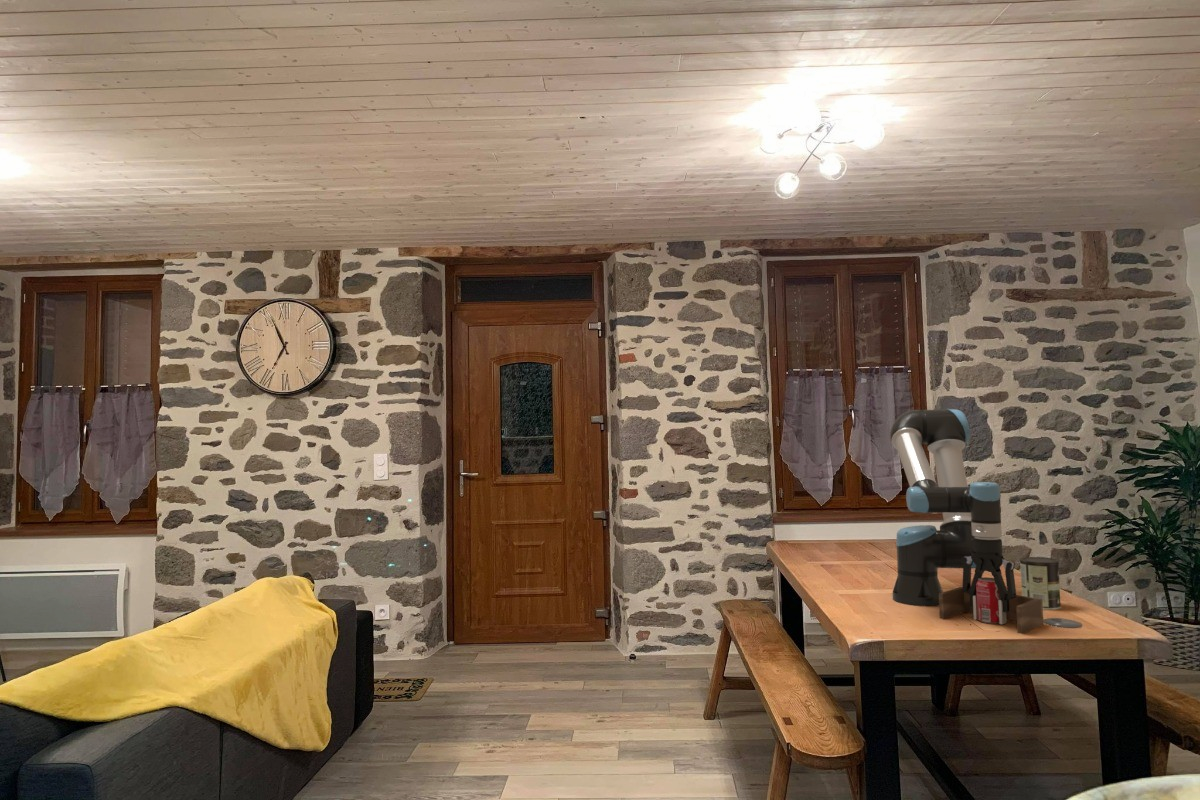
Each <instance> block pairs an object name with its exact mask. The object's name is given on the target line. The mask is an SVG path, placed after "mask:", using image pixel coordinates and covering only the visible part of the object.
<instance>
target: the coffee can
mask: <svg viewBox="0 0 1200 800" xmlns="http://www.w3.org/2000/svg"><path fill="white" fill-rule="evenodd" d="M1019 562H1020V566H1019V567H1020V582H1021V583H1020V584H1021V585H1020V586H1021V587H1020V588H1021V596H1026V597H1033V598H1040V599H1042V603H1043V611H1044V610H1045V611H1046V610H1047V611H1053V610H1054V611H1056V610H1061V609H1062V606H1061V603H1062V602H1061V589H1060V569H1059V568H1060V566H1059V565H1060V561H1059V560H1058V559H1056V558H1055V559H1054V558H1050V557H1042V556H1041V557H1040V556H1036V557H1035V556H1025V557H1020V558H1019Z"/></svg>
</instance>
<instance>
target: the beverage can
mask: <svg viewBox="0 0 1200 800" xmlns="http://www.w3.org/2000/svg"><path fill="white" fill-rule="evenodd" d="M976 595H977V620H978V621H980V622H981V623H984V624H989V625H990V624H991V625H997V624H999V602H998V600H1000V599H1001V596H1000V593H999V591H998V588H997V585H996V582H995V580H994V577H983V576H982V578H978V581H977V583H976Z"/></svg>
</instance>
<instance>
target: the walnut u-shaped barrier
mask: <svg viewBox="0 0 1200 800" xmlns="http://www.w3.org/2000/svg"><path fill="white" fill-rule="evenodd" d="M938 613H939V619H940V620H945V619H948V618H951V617H954V616H957V615H959V614H963V613H970V614H974V613H973V607H972V606H971V605H970V595H969V594H968V593H966V592H963V590H962V586H959V587H956V588H952V589H949V590H946V591H943V593H939V606H938ZM1006 620H1009V621H1014V622H1016V629H1017V634H1022V635H1024V634H1025V633H1027V632H1029V631H1032V630H1034V629H1038V628H1040V627H1041V625H1042V626H1043V625H1044V622H1043V620H1044V610H1043V603H1042V599H1040V598H1033V597H1026V596H1022V595H1018V594H1016V598H1013V599H1010V600H1009V612H1006Z"/></svg>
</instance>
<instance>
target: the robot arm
mask: <svg viewBox="0 0 1200 800" xmlns="http://www.w3.org/2000/svg"><path fill="white" fill-rule="evenodd" d="M970 429H971V428H970V425H969V421H968V419H967V416H966V415H965V413H964V412H963V411H961V410H959V409H953V408H951V409H950V408H944V409H943V408H942V409H912V410H909V411H906V412H904V413H902V414H901V415H899V416H898V417H897V419H895V421H893V423H892V425H891V429H890V430H889V431H890V432H889V439H890V442H891V445H892V447H893V448H894V449H895V450H896V451H897V453H898V456H899V458H900V459H899V460H900V461H901V465H902V467H903V468H902V469H904V473H905V477H906V479H907V482H908V485H909V486H908V488H907V489H906V493H905V499H906V500H905V501H906V507H907V509H908V511H910V512H911V513H921V514H925V513H927V514H928V513H931V514H932V513H934V514H936V513H942V517H943V522H942V523H941V524H940V525H939V529H938V528H936V526H935V525H930V524H928V525H927V524H926V525H924V524H923V525H921V524H920V525H911V526H905V527H903V528H900V529H899V530H897V532H896V542H895V546H896V558H897V560H896V565H897V576H896V579H895V583H894V586H893V590H892V593H891V594H892V600H893V601H894V602H896V603H899V604H901V605H902V604H903V605H908V606H913V607H937V606H938V605H939V593H943V592H944V590H943V587H942V585H941V583H940V581H939V577H938V573H939V572H938V570H939V569H962V586H961V587H962V590H963V592H966V593H968V594H969V595H970V605H971V606H972V607H973V613H972V614H973V620H975V621H977V620H978V619H977V595H976V583H977V581H978V578H983V576H984V575H983V574H984V573H985V572H988V573H991V576H993V577H992V578H994V580H995V582H996V585H997V588H998V591H999V593H1000V596H1001V599H1000V600H998V602H999V623H998V624H999V625H1004V624H1007V623H1008V622H1007V619H1006V612H1009V600H1010V599H1013V598H1016V595H1017V588H1016V581H1015V573H1014V569H1015V566H1016V563H1015V562H1014V561H1009V560H1006V559H1005V558H1004V556H1003V540H1002V539H1001V538H1002V537H1003V533H1002V511H1001V509H1002V507H1001V497H1002V495H1001V491H1000V485H999V484H998V483H997V482H990V481H974V482H971V483H970V485H968V480H967V476H966V470H965V464H964V458H963V453H962V452H963V450H964V449H965V448H966V444H967V443H969V440H970V437H971V436H970V435H971V433H970ZM923 445H926V447H927V451H928V452H929V453H931V454H933V460H934V465H935V471H936V479H937V482H936V479H935V476H934V473H933V471H932V468H931V466H930V463H929V461H928V458H927V455H926V452H925V450H924V447H923ZM937 529H938V530H937ZM1002 565H1003V569H1004V575H1005V581H1004V577H1003V576H1002V575H1003V574H1002V569H1001V567H1002ZM972 569H974V575H973V578H972ZM1005 582H1006V583H1005ZM938 607H939V606H938Z"/></svg>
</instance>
